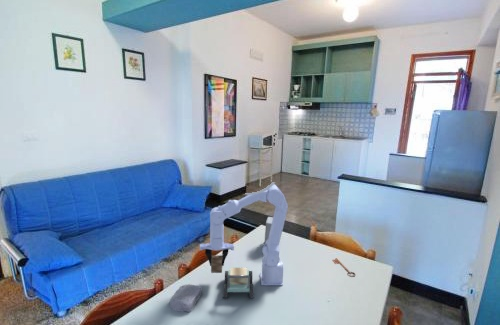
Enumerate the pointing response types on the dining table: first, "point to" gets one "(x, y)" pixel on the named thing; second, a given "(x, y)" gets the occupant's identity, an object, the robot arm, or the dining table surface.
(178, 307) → the stone block
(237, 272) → the dark framed glass box
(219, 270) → the walnut chock
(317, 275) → the dining table surface
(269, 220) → the skincare box
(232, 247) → the robot arm
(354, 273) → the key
